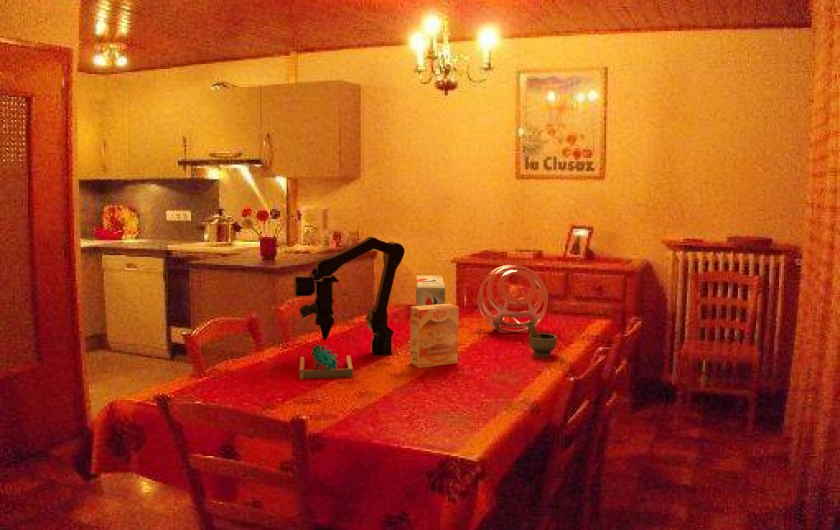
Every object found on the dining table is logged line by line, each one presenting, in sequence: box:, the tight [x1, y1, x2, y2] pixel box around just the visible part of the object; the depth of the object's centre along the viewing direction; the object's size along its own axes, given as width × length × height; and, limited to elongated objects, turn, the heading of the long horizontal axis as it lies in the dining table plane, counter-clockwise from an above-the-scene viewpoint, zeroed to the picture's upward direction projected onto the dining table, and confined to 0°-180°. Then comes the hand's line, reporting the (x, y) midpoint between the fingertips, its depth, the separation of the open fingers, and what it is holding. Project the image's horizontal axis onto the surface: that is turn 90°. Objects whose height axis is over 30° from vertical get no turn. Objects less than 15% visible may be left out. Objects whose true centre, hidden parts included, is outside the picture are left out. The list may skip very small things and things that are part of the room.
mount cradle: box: [298, 355, 354, 380], centre depth 240 cm, size 16×17×2 cm
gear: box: [311, 344, 339, 369], centre depth 242 cm, size 11×6×10 cm
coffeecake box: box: [409, 303, 460, 369], centre depth 249 cm, size 15×7×20 cm, turn 117°
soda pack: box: [415, 274, 446, 306], centre depth 344 cm, size 41×13×14 cm, turn 0°
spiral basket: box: [477, 264, 549, 334], centre depth 301 cm, size 28×28×27 cm
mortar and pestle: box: [526, 320, 558, 359], centre depth 262 cm, size 11×9×12 cm
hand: (324, 340), depth 256 cm, fingers closed
